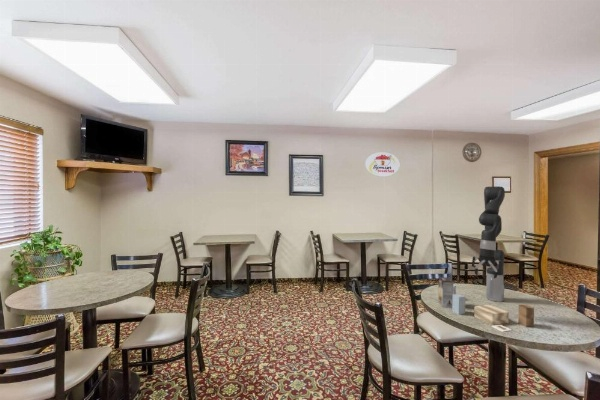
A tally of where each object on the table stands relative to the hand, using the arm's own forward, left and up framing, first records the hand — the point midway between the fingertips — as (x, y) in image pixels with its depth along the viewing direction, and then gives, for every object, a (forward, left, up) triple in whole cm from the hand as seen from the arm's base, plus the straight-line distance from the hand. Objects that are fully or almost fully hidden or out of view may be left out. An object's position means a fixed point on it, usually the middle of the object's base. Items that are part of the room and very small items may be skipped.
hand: (485, 276), depth 160 cm
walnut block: (-10, +16, -22) cm, 29 cm away
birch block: (+2, +6, -22) cm, 23 cm away
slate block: (+12, -6, -22) cm, 26 cm away
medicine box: (-2, -28, -22) cm, 36 cm away
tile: (+7, +16, -22) cm, 28 cm away
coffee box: (+10, -18, -22) cm, 31 cm away
